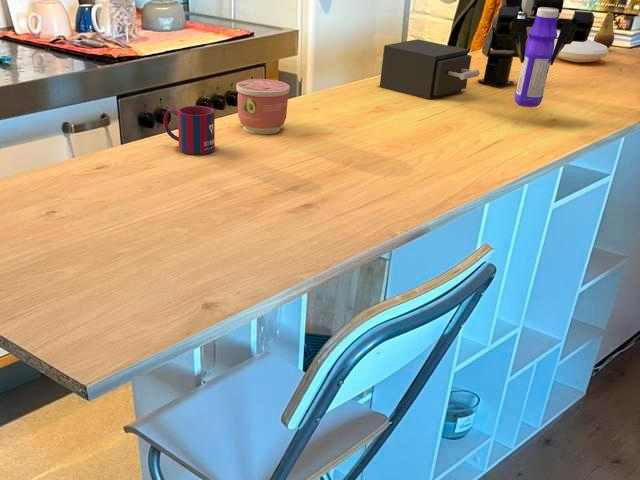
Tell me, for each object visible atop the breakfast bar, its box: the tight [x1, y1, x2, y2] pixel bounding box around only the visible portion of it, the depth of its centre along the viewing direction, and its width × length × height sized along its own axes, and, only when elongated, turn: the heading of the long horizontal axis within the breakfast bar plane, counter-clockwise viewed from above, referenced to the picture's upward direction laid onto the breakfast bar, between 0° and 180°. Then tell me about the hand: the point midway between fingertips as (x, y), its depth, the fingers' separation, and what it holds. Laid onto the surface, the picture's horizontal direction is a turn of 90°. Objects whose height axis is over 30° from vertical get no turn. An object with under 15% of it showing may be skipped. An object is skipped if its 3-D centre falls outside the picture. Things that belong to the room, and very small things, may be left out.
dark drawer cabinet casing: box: [379, 38, 469, 100], centre depth 191 cm, size 15×13×9 cm
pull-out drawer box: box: [433, 54, 480, 96], centre depth 189 cm, size 18×12×7 cm, turn 44°
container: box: [235, 78, 291, 135], centre depth 162 cm, size 10×10×8 cm
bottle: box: [514, 7, 559, 108], centre depth 166 cm, size 7×6×17 cm
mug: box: [163, 105, 216, 156], centre depth 151 cm, size 7×10×7 cm
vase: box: [554, 38, 610, 63], centre depth 223 cm, size 16×16×7 cm
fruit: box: [593, 3, 617, 49], centre depth 234 cm, size 6×6×12 cm
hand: (536, 62), depth 165 cm, fingers closed on bottle, 5 cm apart
